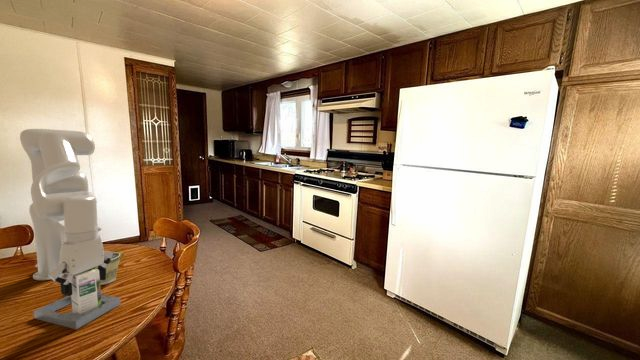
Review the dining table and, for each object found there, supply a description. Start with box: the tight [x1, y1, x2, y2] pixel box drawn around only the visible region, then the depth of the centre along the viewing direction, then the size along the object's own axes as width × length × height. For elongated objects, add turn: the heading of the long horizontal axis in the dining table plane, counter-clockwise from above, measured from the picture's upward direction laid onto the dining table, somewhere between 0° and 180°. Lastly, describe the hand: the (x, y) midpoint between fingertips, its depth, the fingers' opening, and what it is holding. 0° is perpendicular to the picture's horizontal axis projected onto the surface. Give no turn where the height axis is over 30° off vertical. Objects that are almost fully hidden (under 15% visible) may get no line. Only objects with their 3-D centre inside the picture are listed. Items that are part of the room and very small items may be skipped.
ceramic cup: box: [96, 251, 125, 286], centre depth 104 cm, size 13×10×10 cm
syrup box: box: [69, 267, 102, 315], centre depth 82 cm, size 6×6×14 cm
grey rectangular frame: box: [33, 293, 121, 330], centre depth 84 cm, size 18×13×2 cm
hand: (85, 286), depth 83 cm, fingers open, 9 cm apart
